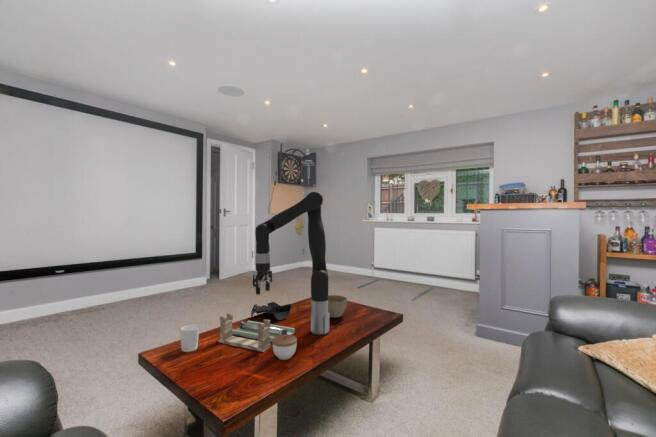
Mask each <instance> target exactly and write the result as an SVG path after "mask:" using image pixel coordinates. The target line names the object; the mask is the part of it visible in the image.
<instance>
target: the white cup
mask: <svg viewBox="0 0 656 437" xmlns="http://www.w3.org/2000/svg"><path fill="white" fill-rule="evenodd" d="M199 331H200V325H198V324H187V325H184V326H181V327H180V331H179V332H180V347H181V348H180V349H181V351H182V352H185V353H189V352H194V351H196V350H197V349H198V346H199V344H198V343H199V337H200V334H199V333H200V332H199Z"/></svg>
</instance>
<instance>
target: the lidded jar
mask: <svg viewBox="0 0 656 437" xmlns="http://www.w3.org/2000/svg"><path fill="white" fill-rule="evenodd" d="M297 342H298V338H297V336H295V335H294V334H292V335H289V334H284V335H278V336H276V337H274V338H273V340H272V342H271V344H272V351H273V354H274V355H275V357H277V358H278V360H281V361H286V360H290V359H291V358H292V357H293V355H294V354H295V353H296V351H297V347H298V346H297V344H298V343H297Z"/></svg>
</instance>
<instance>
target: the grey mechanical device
mask: <svg viewBox="0 0 656 437" xmlns="http://www.w3.org/2000/svg"><path fill="white" fill-rule="evenodd" d="M291 309H292V304H291V303H289V304H288V303H287V304H283V305H280V304H278V303H277V302H275V301H272V302H268V303H267V305H264V304H263V305H258V303H255V304H254V305H253V306H252V309H251V311H250V315H251V316H250V317H253V316H254V315H255V314H256V315H259V314H262V313H265V314H272V315H273V316H274V318H275V319H276V320H280V321H282V320H284V319H286V318H287V317H288V316H290V313H291Z"/></svg>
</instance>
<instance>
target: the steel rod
mask: <svg viewBox="0 0 656 437" xmlns="http://www.w3.org/2000/svg"><path fill="white" fill-rule="evenodd" d="M238 328H241V329H242V328H244V329H249V330H255V331H258V329H257V325H256V324H250V323H247V322H244V321H240V322H239V323H238ZM270 333H271V334H276V335H284V334H287V329H279V328H273V327H270Z"/></svg>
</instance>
